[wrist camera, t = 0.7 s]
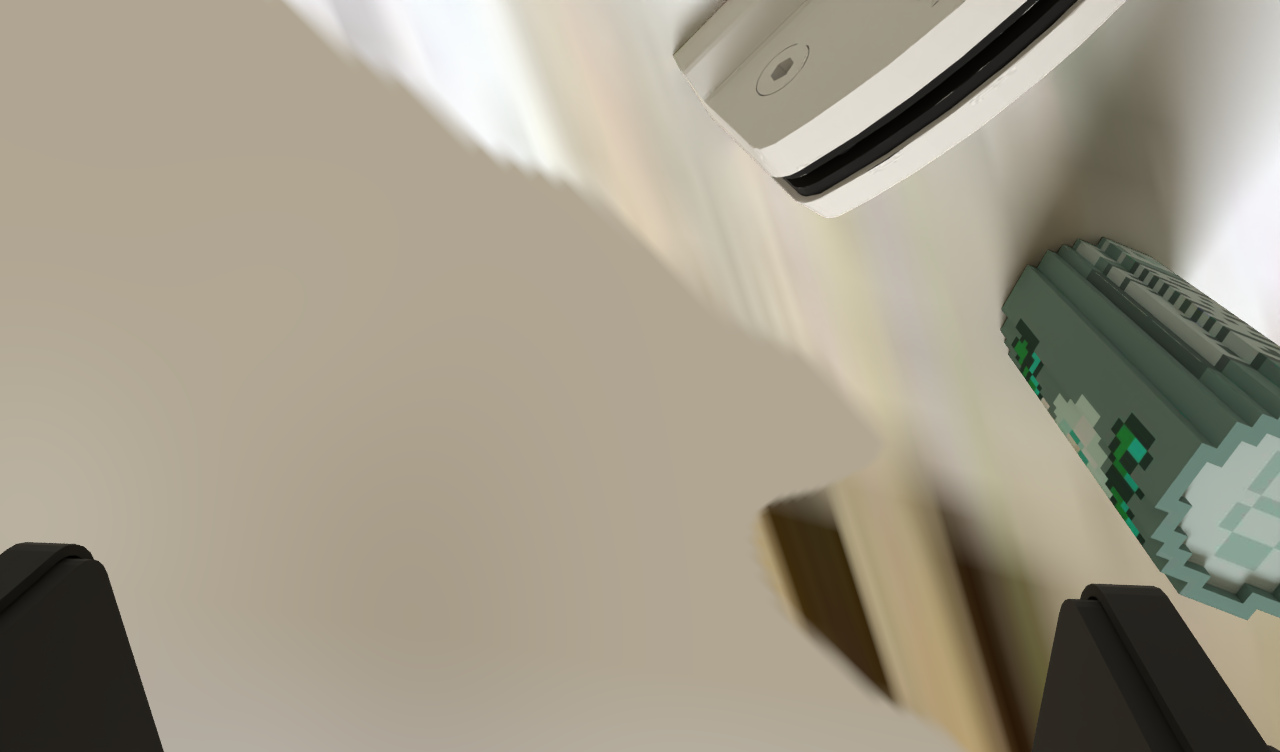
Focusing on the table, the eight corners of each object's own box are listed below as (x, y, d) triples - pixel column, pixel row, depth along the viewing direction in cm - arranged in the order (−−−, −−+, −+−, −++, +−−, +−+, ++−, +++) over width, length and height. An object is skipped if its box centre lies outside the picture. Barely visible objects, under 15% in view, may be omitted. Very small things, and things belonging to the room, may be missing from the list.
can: (976, 352, 38) (1110, 568, 24) (1055, 217, 35) (1253, 373, 22) (1109, 404, 38) (1315, 646, 25) (1196, 274, 36) (1479, 463, 22)
